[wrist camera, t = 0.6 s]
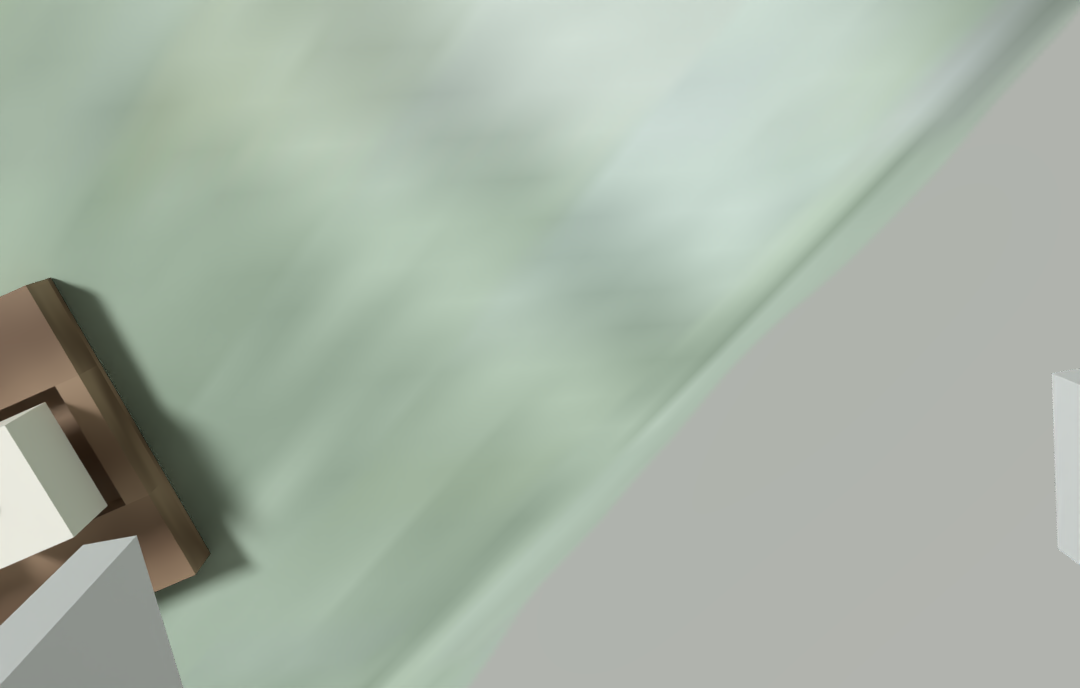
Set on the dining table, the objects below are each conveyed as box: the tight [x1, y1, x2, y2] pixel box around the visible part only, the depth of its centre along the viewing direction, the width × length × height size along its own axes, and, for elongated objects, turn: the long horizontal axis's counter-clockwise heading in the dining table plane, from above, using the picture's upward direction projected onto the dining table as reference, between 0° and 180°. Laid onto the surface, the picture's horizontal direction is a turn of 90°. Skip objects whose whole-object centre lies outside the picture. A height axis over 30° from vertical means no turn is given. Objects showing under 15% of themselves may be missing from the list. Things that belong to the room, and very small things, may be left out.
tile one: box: [0, 402, 108, 569], centre depth 35 cm, size 5×5×3 cm
